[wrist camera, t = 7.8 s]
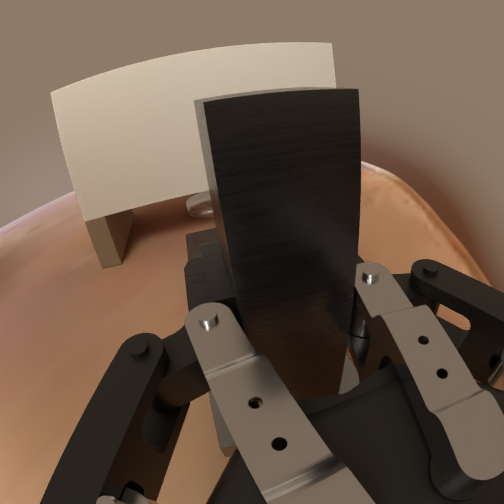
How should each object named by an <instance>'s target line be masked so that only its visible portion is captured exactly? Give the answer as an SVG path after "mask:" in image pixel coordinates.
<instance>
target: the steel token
mask: <svg viewBox="0 0 504 504" xmlns="http://www.w3.org/2000/svg"><path fill="white" fill-rule="evenodd" d="M186 206H187V211H188V214H189V216H191V217H193V218H198V219H208V218H214V213H213V208H212V203H211V197H210V192H209V190H208V191H203V192H200V193H198V194H195V195H193V196H192V197H190V198H189V199H188V200H187V201H186Z"/></svg>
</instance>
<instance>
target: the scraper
mask: <svg viewBox="0 0 504 504" xmlns="http://www.w3.org/2000/svg"><path fill="white" fill-rule="evenodd" d="M194 106H195V113H196V119H197V125H198V130H199V136H200V142H201V148H202V154H203V159H204V165H205V170H206V176H207V181H208V187H209V192H210V197H211V203H212V208H213V213H214V218H215V224H216V228H212V229H208V230H203V231H199V232H195V233H190V234H186V242H187V251H188V259H189V260H190V259H195V258H199V257H202V254H201V249H200V244H202V243H207V242H211V241H215V240H218V241H219V244H220V249H221V254H222V259H223V262H224V266H225V269H226V272H227V275H228V279H229V282H230V285H231V288H232V291H233V294H234V298H235V303H236V308H237V313H238V318H239V322H240V327H241V329H242V330H243V332H244V333H245V335H246V337H247V338H248V340H249V342H250V343H251V345H252V347H253V348H254V350H255V351H256V353H260V352H262V353H263V354H264V355H265V356H266V358H267V359H268V360H269V362H270V364H271V365H272V367H273V368H274V370H275V371H276V373H277V374H278V376H279V377H280V379H281V380H282V382H283V383H284V385H285V386H286V388H287V389H288V391H289V392H290V394H291V395H292V397H293V398H294V400H295V401H298V400H301V399H304V398H313V397H322V396H330V395H337V394H344V393H346V392H348V391H350V390H351V389H353V388H354V387H356V386H357V385H358V384H359V376H358V372H357V370H356V368H355V366H354V364H353V363H352V361H351V360H350V358H349V356H348V355H347V353H346V350H347V344H348V337H349V330H350V322H351V315H352V306H353V298H354V288H355V278H356V267H357V255H358V240H359V222H360V195H361V136H360V109H359V92H358V89H351V88H330V87H294V88H280V89H269V90H259V91H251V92H243V93H235V94H228V95H221V96H215V97H209V98H203V99H198V100H194ZM209 397H210V402H211V407H212V412H213V417H214V422H215V427H216V431H217V436H218V441H219V445H220V449H221V450H222V452H223V453H224V455H225V457H228V456H232V454H233V452H234V451H235V449H236V448H237V446H236V444H235V442H234V440H233V438H232V436H231V434H230V432H229V429H228V427H227V425H226V423H225V421H224V419H223V416H222V414H221V412H220V410H219V408H218V405H217V403H216V401H215V399H214V396H213V394H212V392H211V391H209Z"/></svg>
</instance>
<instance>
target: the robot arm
mask: <svg viewBox="0 0 504 504" xmlns="http://www.w3.org/2000/svg"><path fill="white" fill-rule="evenodd" d="M200 249H201V254H202V257H199V258H195V259H190V260H189V261H188V262H187V264H186V266H185V268H184V272H185V282H186V291H187V301H188V309H189V313H188V314H187V316H186V318H185V325H184V326H183V327H182V328H181V329H180V330H179V331H177V332H176V333H174V334H172V335H170V336H168V337H166V338H164V339H162V340H161V339H160V338H159V337H158V336H157V335H154V334H151V333H141V334H137V335H134V336H132V337H130V338H129V339H127V340H126V341H125V342H124V343H123V344H122V345H121V347H120V348H119V350H118V352H117V353H116V355H115V357H114V359H113V360H112V362H111V364H110V366H109V367H108V369H107V371H106V373H105V374H104V376H103V378H102V380H101V382H100V383H99V385H98V387H97V389H96V391H95V392H94V394H93V396H92V398H91V400H90V402H89V403H88V405H87V407H86V409H85V411H84V413H83V415H82V417H81V419H80V420H79V422H78V424H77V426H76V428H75V430H74V432H73V434H72V436H71V438H70V440H69V442H68V444H67V446H66V448H65V450H64V452H63V454H62V456H61V458H60V460H59V463H58V465H57V467H56V469H55V471H54V473H53V475H52V477H51V480H50V482H49V484H48V486H47V489H46V491H45V493H44V495H43V498H42V500H41V502H40V504H158V503H157V502H156V500H157V498H158V495H159V492H160V489H161V486H162V483H163V480H164V477H165V474H166V471H167V469H168V466H169V463H170V460H171V457H172V454H173V451H174V448H175V446H176V443H177V440H178V437H179V434H180V431H181V428H182V425H183V423H184V420H185V417H186V414H187V411H188V408H189V405H190V401H192V400H194V399H196V398H198V397H200V396H202V395H203V394H205V393H207V392H209V391H211V392H212V394H213V396H214V399H215V401H216V403H217V405H218V408H219V410H220V412H221V414H222V416H223V419H224V421H225V423H226V425H227V427H228V429H229V432H230V434H231V436H232V438H233V440H234V442H235V444H236V446H237V448H236V449H235V451H234V452H233V454H232V456H231V458H230V460H229V462H228V464H227V466H226V467H225V469H224V471H223V473H222V475H221V477H220V479H219V481H218V482H217V484H216V486H215V488H214V490H213V492H212V493H211V495H210V497H209V499H208V501H207V502H206V504H504V293H502V292H500V291H498V290H496V289H494V288H492V287H490V286H488V285H486V284H484V283H482V282H480V281H478V280H476V279H474V278H471V277H469V276H467V275H465V274H463V273H461V272H459V271H457V270H454V269H452V268H450V267H448V266H446V265H443V264H441V263H439V262H437V261H434V260H429V259H422V260H418V261H416V262H414V263H413V265H412V268H411V273H407V274H391V273H390V272H389V270H388V269H387V268H385V267H384V266H382V265H380V264H377V263H371V262H364V261H363V260H362V259H361V258H360V257H359V256H358V255H357V267H356V278H355V288H354V298H353V306H352V315H351V322H350V330H349V337H348V344H347V345H348V348H349V351H350V353H351V356H352V359H353V361H354V364H355V367H356V370H357V372H358V376H359V384H358V385H357V386H356V387H354V388H353V389H351V390H350V391H348V392H346V393H344V394H337V395H330V396H322V397H313V398H304V399H301V400H298V401H295V400H294V398H293V397H292V395H291V394H290V392H289V391H288V389H287V388H286V386H285V385H284V383H283V382H282V380H281V379H280V377H279V376H278V374H277V373H276V371H275V370H274V368H273V367H272V365H271V364H270V362H269V360H268V359H267V358H266V356H265V355H264V354H263V353H262V352H260V353H256V351H255V350H254V348H253V347H252V345H251V343H250V342H249V340H248V338H247V337H246V335H245V333H244V332H243V330H242V329H241V327H240V322H239V318H238V313H237V308H236V303H235V298H234V294H233V291H232V288H231V285H230V282H229V279H228V275H227V272H226V269H225V266H224V262H223V259H222V254H221V249H220V244H219V241H218V240H215V241H211V242H207V243H202V244H200ZM440 304H442V305H444V306H446V307H448V308H450V309H451V310H453V311H455V312H457V313H459V314H461V315H463V316H465V317H466V318H467V319H468V320H469V321H470V325H471V327H470V330H462V329H460V328H459V327H457V326H455V325H453V324H451V323H449V322H447V321H446V320H444V319H442V318H440V317H438V316H436V314H437V311H438V309H439V306H440ZM474 379H475V380H477V381H479V382H481V383H479V382H476V381H475V380H474Z"/></svg>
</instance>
